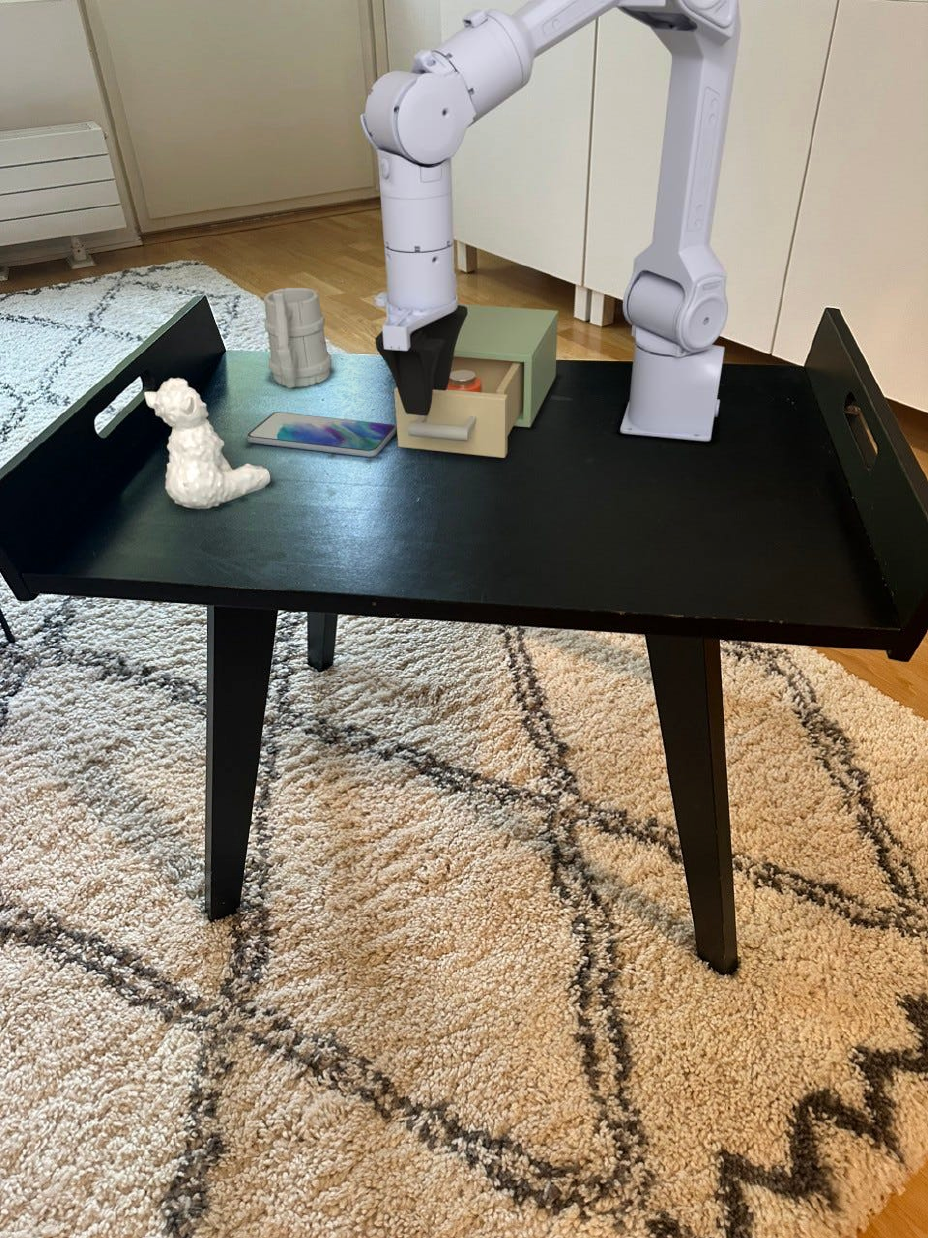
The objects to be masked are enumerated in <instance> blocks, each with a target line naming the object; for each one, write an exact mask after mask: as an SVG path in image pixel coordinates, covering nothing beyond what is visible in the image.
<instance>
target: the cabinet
mask: <svg viewBox="0 0 928 1238" xmlns="http://www.w3.org/2000/svg"><path fill="white" fill-rule="evenodd" d="M458 305H462V306H465V307H467V312H468V314H467V316H466V318H465V321H464V323H463V325H462V327H461V330H460V333H459V336H458V339H457V342H456V346H455V350H454V357H467V358H479V359H491V360H504V361H516V362H524V407H523V409H522V411H521V412H520V414H519V416H518V418H517V420H516V422H515V424H514V425H513V427H523V428H531V426H532V425H533V423H534V421H535V418H536V416H537V415H538V413H539V411H540V409H541V406H542V405H543V403H544V400H545V398H546V397H547V395H548V392H549V390H550V388H551V386H552V385H553V383H554V381H555V380H556V379H555V378H556V373H557V372H556V371H557V349H558V324H559V311H558V310H556V309H555V310H553V309H538V308H524V307H511V306H509V307H508V306H497V305H496V306H495V305H482V304H481V305H480V304H466V303H465V304H463V303H458Z"/></svg>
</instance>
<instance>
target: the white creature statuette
mask: <svg viewBox="0 0 928 1238" xmlns="http://www.w3.org/2000/svg"><path fill="white" fill-rule="evenodd" d="M143 394H144V399H145V402H146V405H147V406H148V407H149V408H150V409H154V413H155V416H156V417H160V418H161V419H162V420H163V422H164V423H165V424H167V425H168V426H169V427H171V428H172V429H171V434H170V436H168V443H167V445H166V448H167V450H168V452H169V455H168V460H169V462H167V464H166V472H165V483H164V484H165V490H166V493H167V494H168V496H169V497H170V498H171V499H172V500H173V501H174V504H176V505H179V506H182V507H185V508H188V509H192V510H206V509H210V508H212V507H218V506H220V505H221V504H224V503H227V502H230V501H232V500H234V499H237V498H241V497H243V496H246V495H248V494H251V493H254V492H257V491H260V490H263V489H265V488H266V486H267V485H269V484H270V482H271V474H270V471H268V469H267V468H264V467H263V466H261V465H254V464H253V465H252V464H251V463H245V464H244V465H243V466H239V467H238V468H236V469H233V468H232V467H231V465H230V463H229V461H228V460H227V459H226V458H225V456H224V455H223V451H222V449H223V447H224V446H225V441H224V440H223V439H221V438H220V437H219V435H218V432H215V430H214V427H213V425H212V424H211V423H210V421H209V420H208V418H207V417H208V416H209V412H208V411H207V406H208V405H207V404H206V403H205V402H203V401H202V399H201V395H200V393H198V392H197V391H196V389H195V388H193V387H190V386H189V383H188V381H187V380H185V379H184V378H180V377H176V378H173V377H171V378H168V380H166V381H163V383H162V384H161V385H160V387H159V389H158V390H157V391H144V392H143Z"/></svg>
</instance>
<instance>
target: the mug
mask: <svg viewBox="0 0 928 1238" xmlns="http://www.w3.org/2000/svg"><path fill="white" fill-rule="evenodd" d="M263 303H264V312H265V320H264V330H265V332H266V333H267V337H268V345H269V354H270V358H268V369H269V371H270V372H271V373H272V377H273V380H274V381H275V382H276V383H277V384H278V385H282V386H286V388H299V387H300V388H301V387H308V386H314V385H316V384H320V383H322V382H324V381H326V380H328V379H329V377H330V374H331V366H332V362H333V361H332V357H331V354H330V353H329V352H328V349H327V341H326V336H325V330H324V327H325V324H326V323H325V316H324V315H323V314H322V310H321V305H320V298H319V294H318V292H317V291H316V290H314V289H313V288H309V287H285V288H279V289H276V290H272V291H270V292H267V293H266V295H264V297H263Z"/></svg>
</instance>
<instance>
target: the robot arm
mask: <svg viewBox="0 0 928 1238" xmlns="http://www.w3.org/2000/svg"><path fill="white" fill-rule="evenodd" d="M614 8H617V9H618V10H619V11H620V12H622V13H623V14H625V15H626V16H629V17H630V18H633V19H634V20H636V21H638V22H640V23H642V24H643V25H646V26H647V27H649V28H650V30H652V32H653V33H654V34H655V35H656V37H657V38H658V39H659V40H660V42H661V43H662V44H663V46H664V47H665V48H666V49H667V50H668V52H669V53H670V55H671V67H670V76H669V86H668V95H667V104H666V113H665V120H664V129H663V141H662V149H661V158H660V167H659V168H660V169H659V177H658V184H657V185H658V186H657V194H656V203H655V211H654V212H655V213H654V221H653V231H652V241H651V244H649V245H648V246H647V247H646V248H645V249H644V250H642V251H641V252H640V253H639V254H638V255H636V257H635V258H634V260H633V261H634V262H633V269H632V274H631V276H630V280H629V282H628V285H627V286H626V288H625V291H624V293H623V294H624V295H623V299H622V312H623V316H624V318H625V320H626V322H627V323H628V324H629V325H630V326H631V337H632V338H634V340H635V341H634V348H633V361H632V371H631V382H630V390H629V391H630V393H629V401H628V403H627V406H626V409H625V412H624V415H623V419H622V422H621V425H620V428H619V432H620V433H621V434H624V435H632V436H633V435H634V436H643V437H654V438H666V439H674V440H675V439H676V440H685V441H695V442H710V441H711V440H712V433H713V428H714V427H713V426H714V421H715V417H716V418H717V417H718V415H719V408H720V403H721V400H720V399H718V395H719V389H720V388H719V387H720V382H721V375H722V370H723V369H722V368H723V362H724V355H725V347H724V346H721V345H715V344H714V343H715V342H716V341H717V340H718V338H719V337H720V335H721V334H722V333H723V330H724V328H725V325H726V323H727V319H728V315H729V303H728V298H727V294H726V293H727V292H726V284H727V277H728V272H727V271H726V269H725V267H724V266H723V265H722V262H721V261H720V259H719V258H718V256H717V255H716V253H715V252H714V250H713V248H712V246H711V244H710V243H711V237H712V231H713V223H714V216H715V211H716V210H715V209H716V203H717V197H718V191H719V190H718V189H719V182H720V176H721V175H720V174H721V168H722V161H723V155H724V147H725V141H726V135H727V127H728V121H729V114H730V107H731V100H732V92H733V87H734V80H735V79H734V78H735V74H736V73H735V72H736V65H737V59H738V53H739V45H740V40H741V39H740V38H741V29H742V25H741V12H740V5H739V0H528V1H527V2H526V3H525V4H523V5H522V6H521V7H519V8H518V9H517V10H516V11H515V12H514V13H512V14H508V13H507V12H504V11H502V10H500V9H497V8H492V9H488V10H483V9H475V8H474V9H472V10H470V11H469V12H467V14H465V15H463V17H462V23H463V26H464V27H463V28H461V29H460V30H459V31H457V32H455V33H454V34H453V35H451V36H450V37H449V38H447V39H446V40H445V41H443V42H442V43H440V44H439V45H437V46H436V47H435V48H434V49H432V50H430V49H425V48H424V49H421V50H419V51H418V52H417V53H415V54H414V55H413V61H414V63H413V64H412V68H411V71H405V70H393V71H389V72H387V73H384V74H383V75H382V76H381V77H379V78H378V79H377V80H376V81H375V83H374V84H373V85H372V86H371V89H370V90H371V92H370V94H367V98H366V102H365V109H364V113H362V114H360V117H359V118H360V125H361V127H362V131H363V133H364V135H365V137H366V139H367V141H368V142H369V143H370V145H371V146H372V147H373V148H374V150H375V152H376V155H377V164H378V165H377V167H378V179H379V192H380V193H379V194H380V195H379V197H380V209H381V221H382V235H383V236H382V237H383V250H384V260H385V275H386V277H385V278H386V288H387V290H386V291H382V292H379V294H378V295H376V296H375V297H374V304H375V306H376V307H378V308H385V322H384V323H383V325H382V326H381V329H382V330H381V332H380V333H379V334H377V336H376V337H375V348H376V351H377V352H378V354H379V355H380V356H381V357H382V360H383V361H384V362H385V364H386V365H387V367H388V369H389V371H390V373H391V376H392V377H393V381H394V382H395V386H396V387H397V389H398V392H399V395H400V398H401V401H402V404H403V407H404V410H405V412H406V414H414V415H424V416H426V415H428V414H429V412H430V408H431V403H432V395H433V390H443V391H445V390H446V389H447V387H448V383H449V379H450V373H451V367H452V361H453V356H454V350H455V346H456V342H457V339H458V336H459V333H460V330H461V327H462V325H463V323H464V321H465V318H466V316H467V314H468V312H467V307H465V306H462V305H458V304H459V299H458V288H457V287H458V286H457V285H458V284H457V274H456V273H455V271H456V270H455V242H454V209H453V204H454V202H453V174H452V173H453V171H452V158H453V157H454V156H455V155H456V153H458V151H459V149H460V147H461V145H462V143H463V141H464V138H465V135H466V131H467V129H469V128H470V127H471V126H472V125H474V124H475V123H476V122H478V121H480V119H482V118H484V117H485V116H486V115H487V114H489V113H490V112H491V111H493V110H495V109H496V108H497V107H498V106H500V105H501V104H503V103H504V102H505V101H506V100H508V99H509V98H510V97H512V96H513V95H514V94H516V93H517V92H519V91H520V90H521V89H523V88H524V87H526V86H527V85H528V84H529V82H530V79H531V76H532V73H533V66H534V61H535V59H536V58H537V57H539V56H541V55H543V54H544V53H545V52H547V51H549V50H550V49H552V48H553V47H555V46H556V45H558V44H559V43H561V42H563V41H564V40H565V39H567V38H569V37H570V36H572V35H573V34H575V33H576V32H579V30H581V29H583V28H585V27H586V26H587V25H589V24H591V23H592V22H594V21H595V20H597V19H598V18H600V17H602V16H603V15H604V14H606V13H607V12H609V11H611V10H612V9H614Z"/></svg>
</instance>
